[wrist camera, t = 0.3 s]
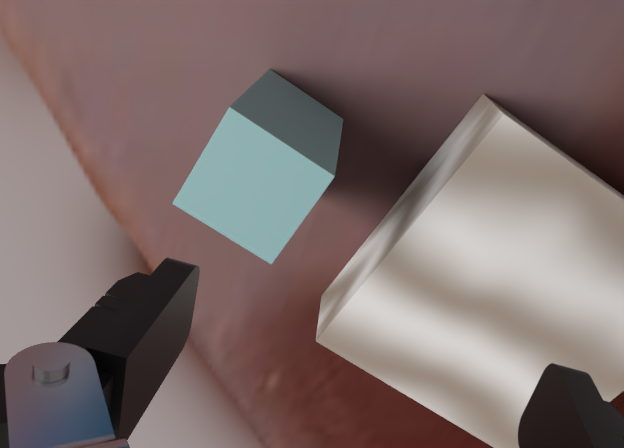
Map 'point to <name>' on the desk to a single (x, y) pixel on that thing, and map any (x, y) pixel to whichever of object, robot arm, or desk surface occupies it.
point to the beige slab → (487, 279)
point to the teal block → (264, 166)
